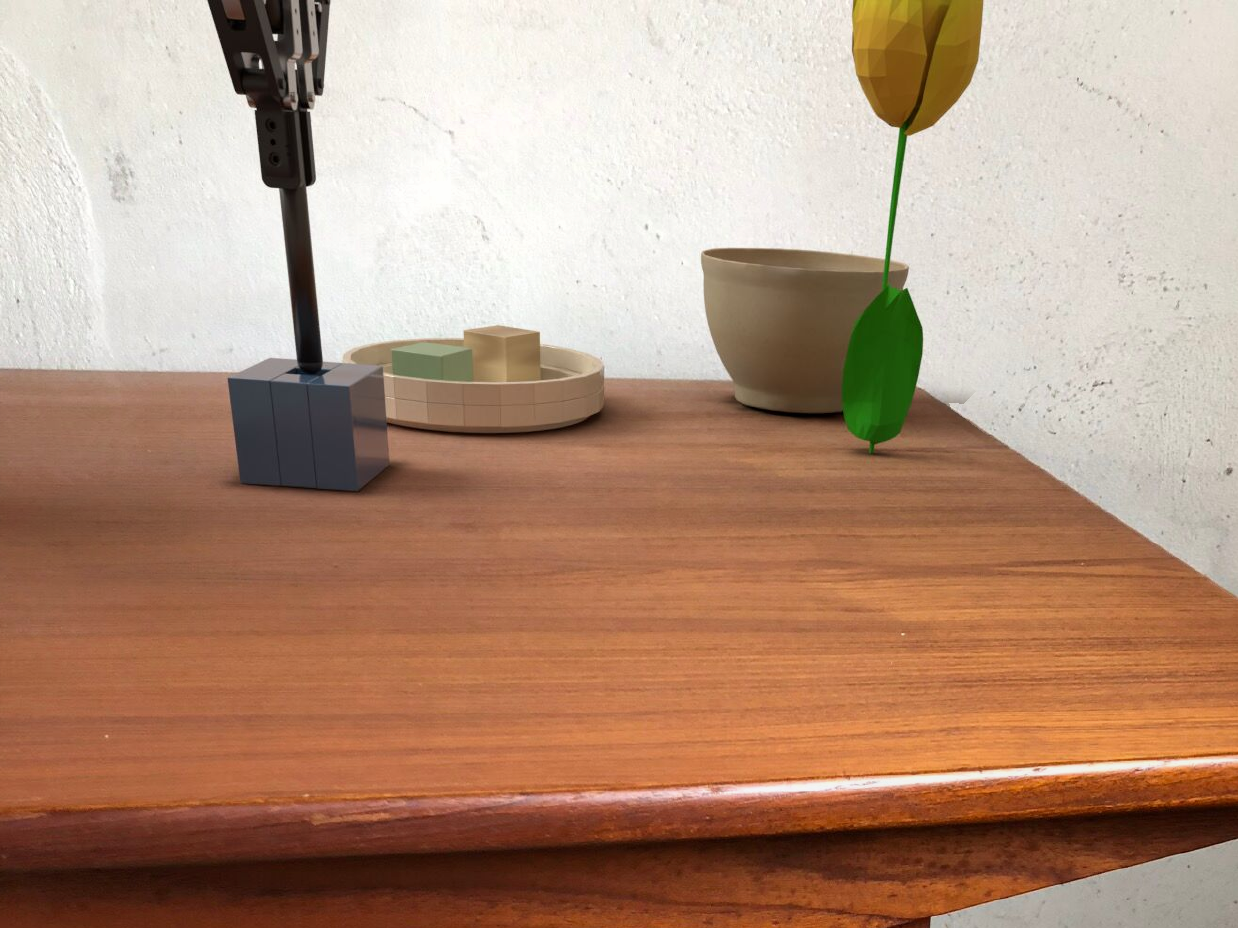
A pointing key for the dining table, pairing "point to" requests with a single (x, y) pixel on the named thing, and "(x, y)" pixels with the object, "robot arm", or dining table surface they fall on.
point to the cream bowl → (490, 393)
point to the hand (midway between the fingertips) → (289, 185)
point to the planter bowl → (789, 320)
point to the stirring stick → (301, 276)
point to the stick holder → (309, 424)
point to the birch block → (504, 354)
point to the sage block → (433, 362)
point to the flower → (913, 101)
